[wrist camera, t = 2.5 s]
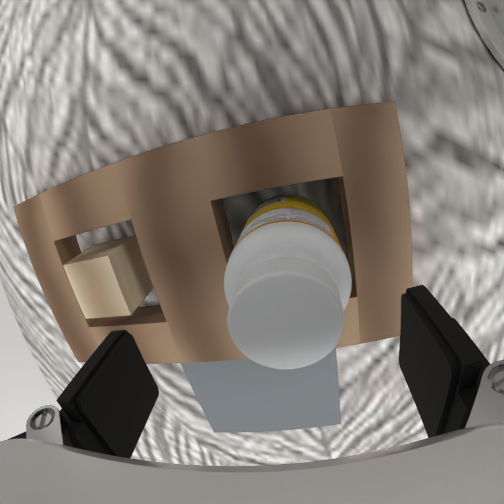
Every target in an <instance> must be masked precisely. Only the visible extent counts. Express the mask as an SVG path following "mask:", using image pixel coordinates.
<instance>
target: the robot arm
mask: <svg viewBox="0 0 504 504" xmlns="http://www.w3.org/2000/svg"><path fill="white" fill-rule="evenodd" d="M464 1H465V3H466V6H467V9H468V12H469V14H470V16H471V18H472V20H473V22H474V25H475V27H476V29H477V30H478V32H479V34H480V36H481V37H482V39H483V41H484V43H485V44H486V46H487V47H488V48H489V50H490V51H491V53H492V54H493V56H494V57H495V59H496V60H497V61H498V62H499V64H500V65H501V66H502V67H503V69H504V0H464ZM399 364H400V368H401V371H402V373H403V375H404V377H405V380H406V382H407V385H408V387H409V389H410V392H411V394H412V397H413V399H414V401H415V404H416V406H417V409H418V411H419V414H420V416H421V419H422V422H423V424H424V427H425V430H426V432H427V435H428V438H427V439H423V440H420V441H416V442H412V443H409V444H405V445H401V446H397V447H393V448H388V449H384V450H379V451H374V452H369V453H364V454H359V455H354V456H348V457H342V458H336V459H329V460H322V461H314V462H305V463H295V464H283V465H266V466H199V465H183V464H171V463H161V462H152V461H144V460H137V459H130V458H131V456H132V453H133V451H134V449H135V447H136V444H137V442H138V440H139V438H140V435H141V433H142V431H143V429H144V427H145V424H146V422H147V420H148V418H149V415H150V413H151V411H152V409H153V407H154V404H155V402H156V400H157V398H158V395H159V390H158V387H157V385H156V383H155V381H154V379H153V377H152V375H151V373H150V371H149V369H148V367H147V365H146V363H145V361H144V359H143V357H142V355H141V352H140V350H139V348H138V346H137V344H136V342H135V339H134V337H133V335H132V334H130V333H129V332H128V331H126V330H116V331H111V332H110V333H109V334H108V335H107V337H106V338H105V339H104V340H103V341H102V343H101V344H100V345H99V346H98V348H97V349H96V350H95V351H94V353H93V354H92V355H91V356H90V358H89V359H88V360H87V361H86V363H85V364H84V365H83V366H82V368H81V369H80V370H79V372H78V373H77V374H76V375H75V377H74V378H73V379H72V381H71V382H70V383H69V384H68V386H67V387H66V388H65V390H64V391H63V392H62V394H61V395H60V396H59V398H58V399H57V402H58V403H59V404H60V406H61V408H62V409H61V410H60V411H59V410H58V408H56V407H55V406H53V405H46V406H42V407H40V408H38V409H37V410H35V411H34V412H33V413H32V414H31V415H30V417H29V419H28V420H27V425H26V432H24V433H22V434H19V435H17V436H15V437H12V438H10V439H8V440H4V441H1V442H0V504H504V360H501V361H496V362H494V363H492V364H490V363H489V362H488V361H487V359H486V358H485V357H484V355H483V354H482V353H481V351H480V350H479V349H478V347H477V346H476V345H475V343H474V342H473V341H472V340H471V338H470V337H469V336H468V334H467V333H466V332H465V331H464V329H463V328H462V327H461V326H460V324H459V323H458V322H457V321H456V320H455V319H454V318H451V317H450V315H449V314H448V313H447V312H446V311H445V309H444V308H443V307H442V306H441V305H440V303H439V302H438V301H437V300H436V299H435V297H434V296H433V295H432V294H431V293H430V292H429V291H428V289H427V288H426V287H425V286H424V285H420V286H415V287H411V288H407V289H406V293H404V294H402V295H401V328H400V349H399Z"/></svg>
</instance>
